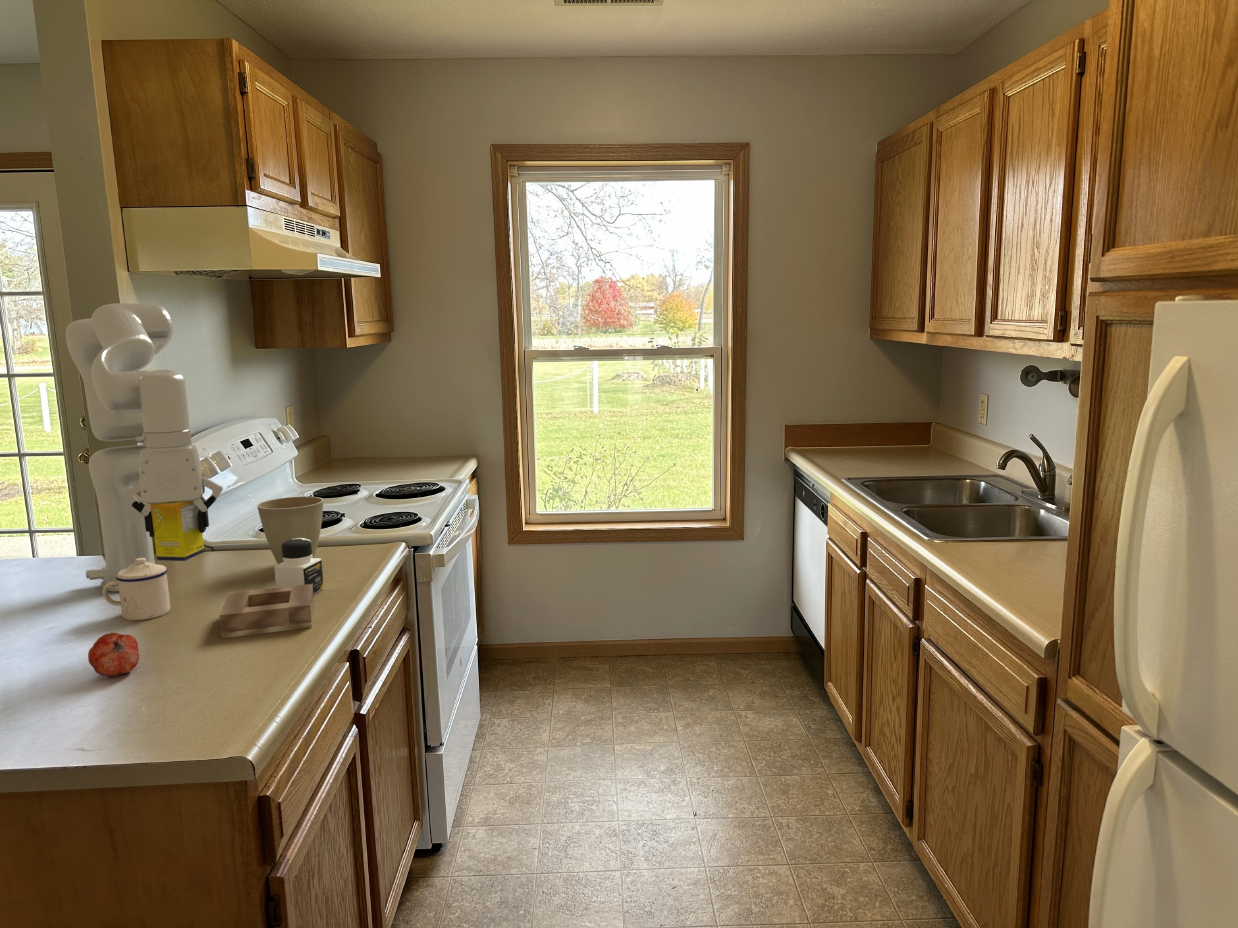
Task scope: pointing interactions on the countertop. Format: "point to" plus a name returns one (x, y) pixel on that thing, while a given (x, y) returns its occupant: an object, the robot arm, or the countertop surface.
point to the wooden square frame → (267, 611)
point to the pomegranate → (114, 654)
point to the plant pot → (291, 521)
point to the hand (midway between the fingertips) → (178, 532)
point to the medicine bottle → (299, 566)
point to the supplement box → (176, 531)
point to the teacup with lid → (141, 591)
